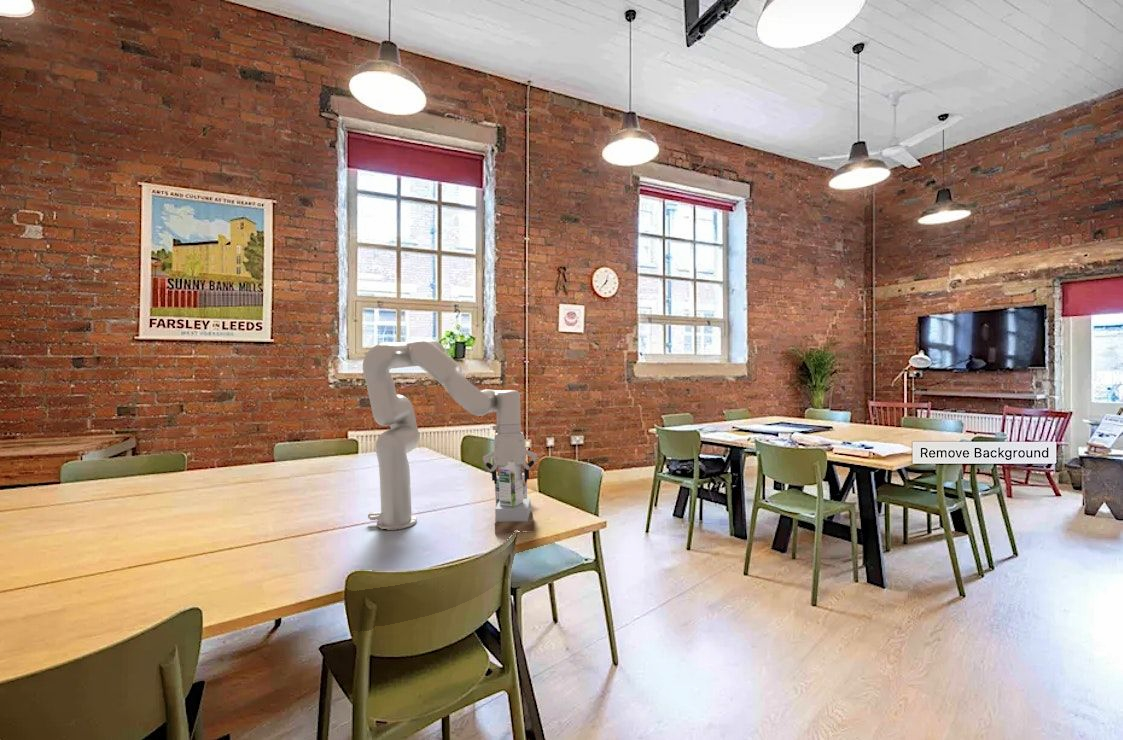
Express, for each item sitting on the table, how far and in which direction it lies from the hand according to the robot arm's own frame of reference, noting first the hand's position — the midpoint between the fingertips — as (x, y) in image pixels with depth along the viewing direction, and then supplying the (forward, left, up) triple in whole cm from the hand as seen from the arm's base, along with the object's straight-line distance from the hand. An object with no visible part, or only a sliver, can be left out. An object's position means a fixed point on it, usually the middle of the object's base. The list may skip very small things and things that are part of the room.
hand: (510, 481), depth 159 cm
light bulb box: (0, +23, -15) cm, 27 cm away
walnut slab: (+1, 0, -15) cm, 15 cm away
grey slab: (+1, 0, -11) cm, 11 cm away
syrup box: (0, 0, -7) cm, 7 cm away
